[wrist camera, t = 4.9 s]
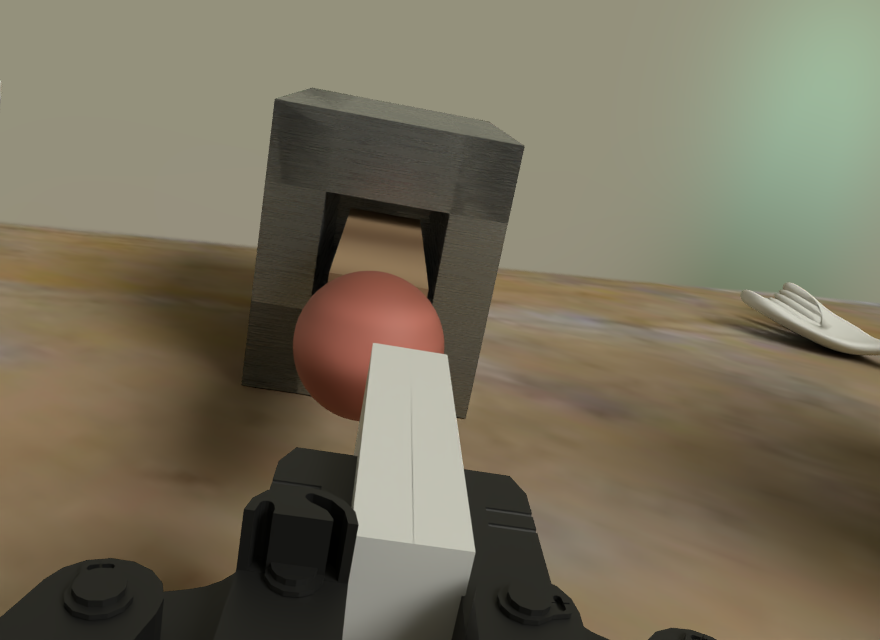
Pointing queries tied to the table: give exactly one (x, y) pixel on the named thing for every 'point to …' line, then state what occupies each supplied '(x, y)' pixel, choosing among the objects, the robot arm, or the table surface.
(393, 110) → the block
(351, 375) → the plunger
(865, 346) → the white plastic spork
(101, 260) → the table surface
